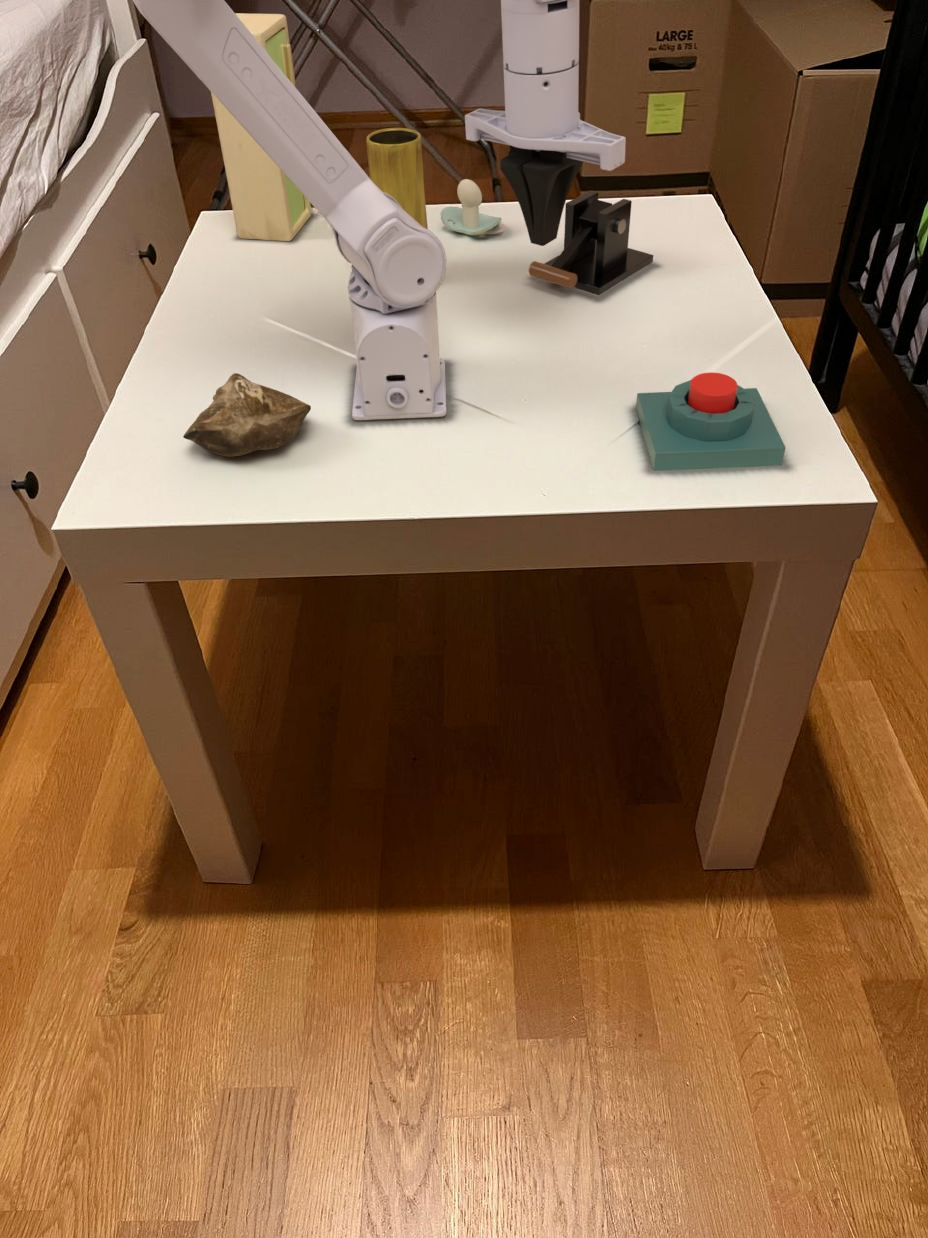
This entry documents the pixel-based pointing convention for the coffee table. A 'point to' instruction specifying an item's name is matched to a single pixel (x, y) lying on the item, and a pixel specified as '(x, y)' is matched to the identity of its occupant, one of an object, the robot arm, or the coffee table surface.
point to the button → (712, 393)
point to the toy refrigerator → (261, 154)
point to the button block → (707, 432)
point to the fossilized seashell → (247, 419)
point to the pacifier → (470, 213)
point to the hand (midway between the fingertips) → (543, 240)
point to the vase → (399, 168)
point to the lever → (571, 249)
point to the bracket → (602, 246)
